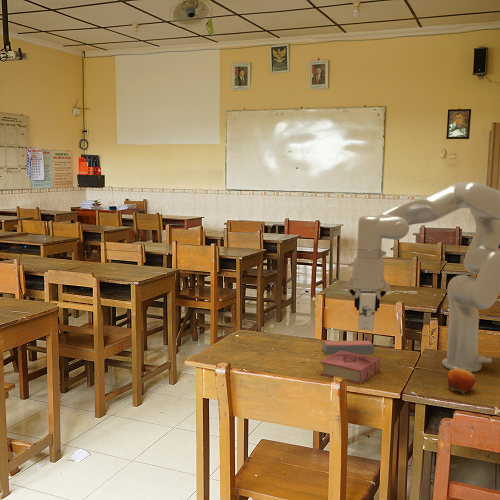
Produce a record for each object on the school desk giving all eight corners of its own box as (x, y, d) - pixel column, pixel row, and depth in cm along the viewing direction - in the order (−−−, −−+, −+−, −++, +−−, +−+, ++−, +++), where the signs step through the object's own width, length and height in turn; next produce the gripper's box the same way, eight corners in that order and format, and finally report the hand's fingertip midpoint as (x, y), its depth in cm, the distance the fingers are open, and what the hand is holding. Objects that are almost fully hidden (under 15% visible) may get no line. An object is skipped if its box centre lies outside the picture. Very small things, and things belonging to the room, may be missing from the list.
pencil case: (369, 348, 206) (369, 340, 205) (373, 353, 200) (374, 344, 199) (322, 349, 205) (322, 340, 204) (325, 354, 199) (325, 345, 198)
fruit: (442, 389, 161) (446, 363, 163) (447, 395, 167) (451, 370, 170) (470, 395, 156) (474, 368, 159) (474, 400, 162) (478, 375, 165)
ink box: (358, 323, 180) (359, 289, 179) (373, 324, 179) (375, 289, 178) (358, 330, 172) (359, 294, 170) (374, 331, 171) (376, 294, 169)
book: (362, 386, 168) (363, 370, 168) (320, 375, 178) (320, 361, 177) (381, 373, 180) (381, 358, 179) (340, 364, 189) (340, 350, 188)
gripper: (394, 254, 175) (391, 308, 177) (341, 252, 177) (339, 306, 179) (398, 256, 168) (395, 313, 170) (342, 255, 170) (340, 311, 172)
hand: (366, 309), depth 175 cm, fingers closed on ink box, 5 cm apart
